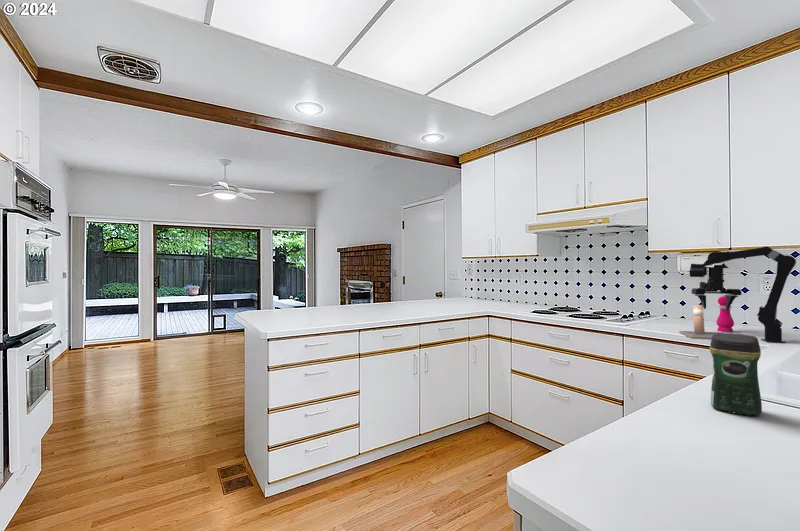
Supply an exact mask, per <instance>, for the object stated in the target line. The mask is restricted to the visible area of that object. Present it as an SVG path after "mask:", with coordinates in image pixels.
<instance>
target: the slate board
mask: <svg viewBox="0 0 800 531" xmlns="http://www.w3.org/2000/svg"><path fill="white" fill-rule="evenodd" d="M678 333H679V334H681V335H683V336H686V337H687V338H689V339H692V340H693V339H695V340H711V339H712V335H713V334H715V333H722V332H719V331H716V332H715V331H705V334H695V331H693V330H692V331H690V330H679V332H678Z"/></svg>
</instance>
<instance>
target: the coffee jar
mask: <svg viewBox="0 0 800 531" xmlns="http://www.w3.org/2000/svg"><path fill="white" fill-rule="evenodd" d="M709 351H710V354H711V356H712V364H713V365H712V366H713V367H712V379H711V388H710V389H711V390H710V406H712V407H713V408H714V409H716V408H717V409H716V410H718V409H720V410H719V411H721V410H724V411H723V412H725V411H729V412H728V413H730V412H735V413H740V414H739V415H742V414H747V415H746V416H751V415H755V416H758V415H761V414H762V413H763V412H762V411H763V409H762V408H763V407H762V405H763V404H762V396H761V391H760V382H759V374H758V373H759V372H758V364H759V363H758V362H759V360H760V358H761V356H762V354H761V353H762V350H761V346H760V342H759V338H758V337H757V336H755V335H749V334H741V333H732V332H731V333H728V332H721V333H715V334H713V335H712V339H710V345H709ZM735 413H734V414H735Z"/></svg>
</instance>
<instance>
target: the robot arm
mask: <svg viewBox="0 0 800 531" xmlns="http://www.w3.org/2000/svg"><path fill="white" fill-rule="evenodd" d="M761 256H765V257H767V258H770V259H771V260H773V261H774V262H777V264H776V276H775V278H774V282H773V284H772V286H771V289H770V291H769V292H770V293H769V295H768V298H767V301H766V303H765V305H764V306H763V305H760V306H759V307H758V308H759V310H758V312H757V314H756V316H757V319H758V322H760V324H762V325H763V327H764V338H760V341H764V342H766V343H780V344H782V343H784V344H786V343H787V342H786V341H784V340H783V339H782V338H783V337H782V336H783V333H782V332H783V331H782V330H783V328H782V325H783V322H782V321H780V320H779V319H778V318H777V316H778V314H777V313H778V305H779V302H780V299H781V296H782V293H783V291H784V288H785V286H786V283H787V279H788V277H789V275H790V274H791V273H792V271H793V270H794V268H795V266H796V264H797V259H796V258H795V257H794V256H791V255H785V254H782V253H781V252H778V251H777V250H774V249H773V248H771V247H769V246H762V247H757V248H750V249H742V250H735V251H713V252H710V253H709V254H708V255H707V259H706V260H705V261H704V263H691V264H690V268H689V276H690V278H705V276H708V278H707V282H705V281H700V282H699V287H695V288H694V287H692V289H691V294H693V295H694V296H695V297H697V298H698V299H699V301H700V302H701V305H703V310H706V309H707V295H706V294H720V295H723V294H727V295H726V310H728V309H729V307H730V306H732V304H733V302H734V300H735V299H736V298H739V296H742V290H741V289H739V288H727V289H725V288H724V283H725V279H724V269H729V266H728V265H727V264H725V262H729V261H733V260H738V259H745V258H746V259H747V258H752V257H761ZM731 303H732V304H731Z"/></svg>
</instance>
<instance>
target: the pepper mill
mask: <svg viewBox="0 0 800 531" xmlns="http://www.w3.org/2000/svg"><path fill="white" fill-rule="evenodd" d="M726 295H727V294H722V296H719V297H718V298H717V304H719V305H718V308H719V314H718V317H717V319H716V325H717V326H718V327H717V329H716V330H717V331H716V332H719V331H721V333H728V332H731V333H734V328H733V327H734V326H735V321H734V319H733V317H732V314H731V309H732V304H733V302H732V303H731V305H730V307H729V309H728V310H726Z"/></svg>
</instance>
